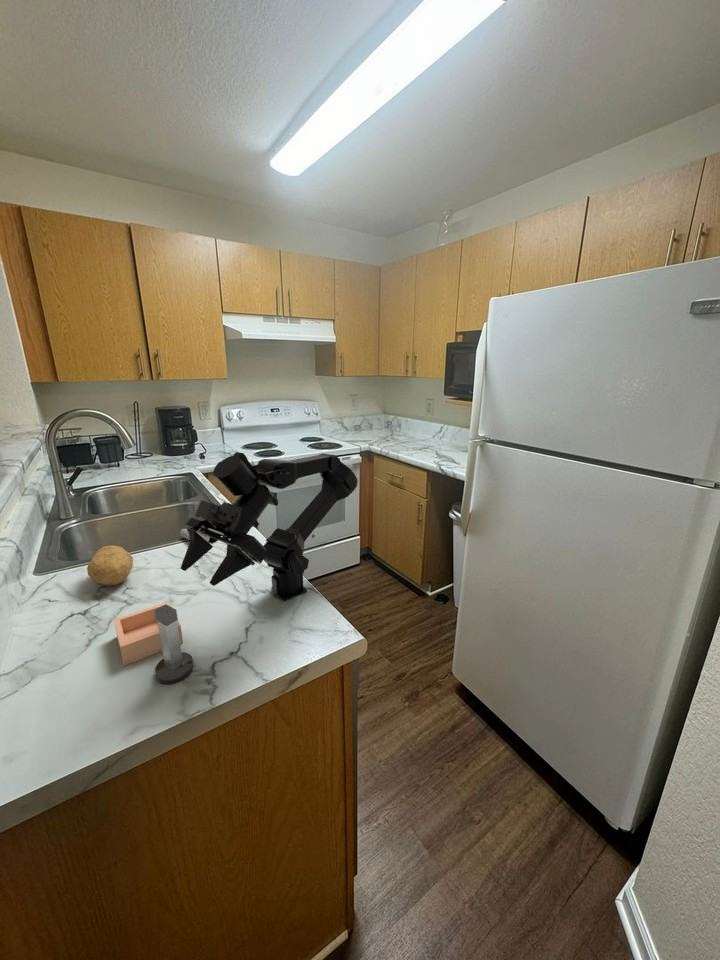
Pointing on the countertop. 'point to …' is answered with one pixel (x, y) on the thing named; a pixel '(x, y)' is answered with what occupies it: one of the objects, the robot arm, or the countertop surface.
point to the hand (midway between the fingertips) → (196, 576)
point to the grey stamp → (171, 649)
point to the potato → (110, 565)
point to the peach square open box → (140, 634)
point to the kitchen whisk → (186, 535)
